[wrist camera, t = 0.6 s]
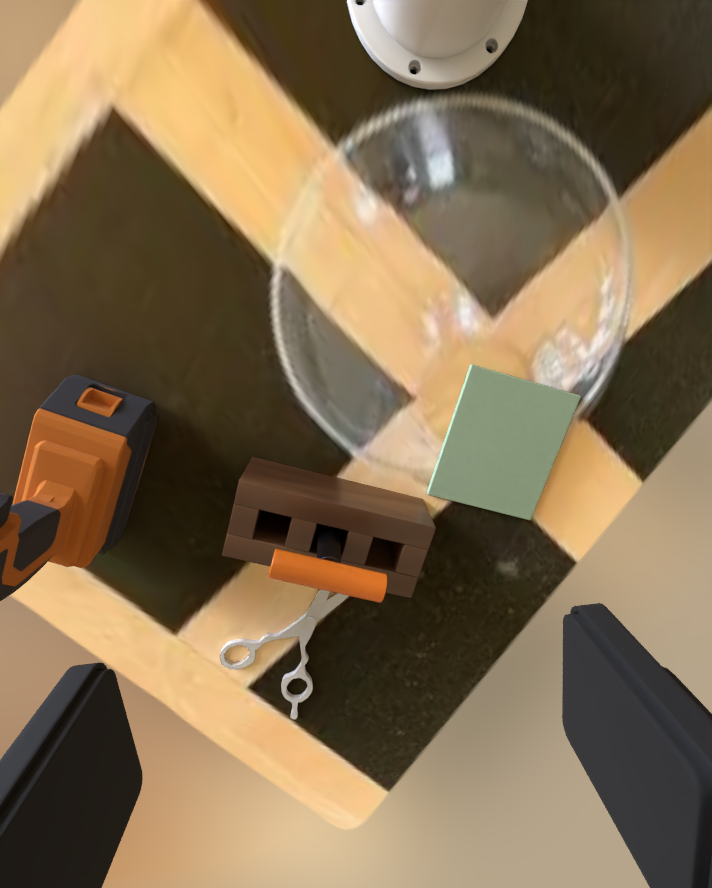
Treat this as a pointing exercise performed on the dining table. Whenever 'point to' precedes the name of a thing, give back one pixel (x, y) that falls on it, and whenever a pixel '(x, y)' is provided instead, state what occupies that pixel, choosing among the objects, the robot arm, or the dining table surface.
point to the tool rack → (328, 522)
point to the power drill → (74, 479)
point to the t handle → (328, 570)
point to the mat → (502, 442)
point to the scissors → (299, 627)
